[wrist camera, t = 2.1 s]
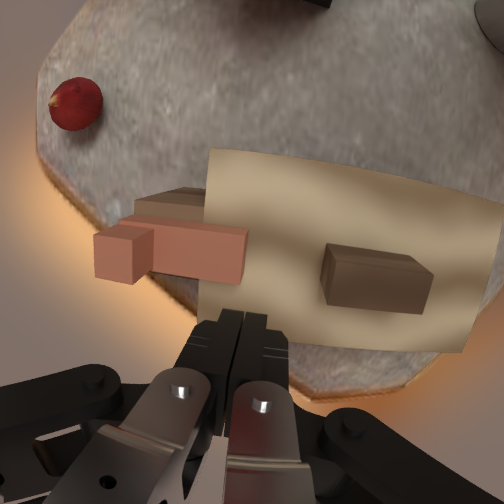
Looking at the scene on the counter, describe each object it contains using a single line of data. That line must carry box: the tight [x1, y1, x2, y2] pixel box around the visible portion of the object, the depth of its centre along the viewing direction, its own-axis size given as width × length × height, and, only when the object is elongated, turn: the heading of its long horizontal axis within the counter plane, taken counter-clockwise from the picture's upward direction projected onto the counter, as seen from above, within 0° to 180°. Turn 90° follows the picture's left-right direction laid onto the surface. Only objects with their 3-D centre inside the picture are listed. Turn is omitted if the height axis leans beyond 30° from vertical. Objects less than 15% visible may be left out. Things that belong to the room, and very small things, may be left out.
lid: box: [197, 148, 504, 353], centre depth 19 cm, size 13×22×6 cm, turn 83°
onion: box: [48, 77, 103, 131], centre depth 25 cm, size 6×6×8 cm
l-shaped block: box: [93, 215, 249, 285], centre depth 18 cm, size 3×8×5 cm, turn 83°
